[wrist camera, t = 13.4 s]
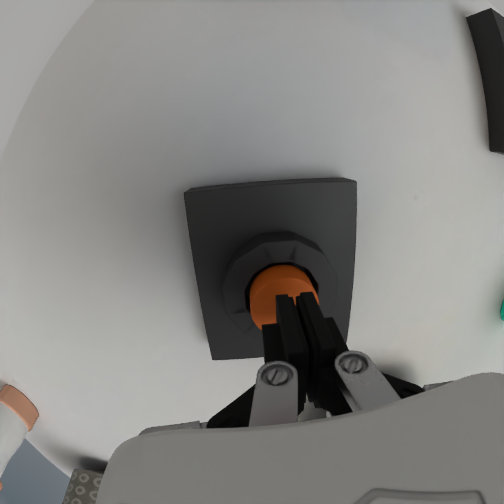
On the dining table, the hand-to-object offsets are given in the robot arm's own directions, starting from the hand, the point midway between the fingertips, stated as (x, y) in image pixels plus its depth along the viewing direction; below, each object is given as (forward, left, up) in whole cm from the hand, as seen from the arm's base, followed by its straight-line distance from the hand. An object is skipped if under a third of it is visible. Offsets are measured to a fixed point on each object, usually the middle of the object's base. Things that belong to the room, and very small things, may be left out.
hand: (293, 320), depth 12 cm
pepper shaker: (+20, -39, -7) cm, 45 cm away
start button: (0, 0, -3) cm, 4 cm away
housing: (0, 0, -7) cm, 7 cm away
